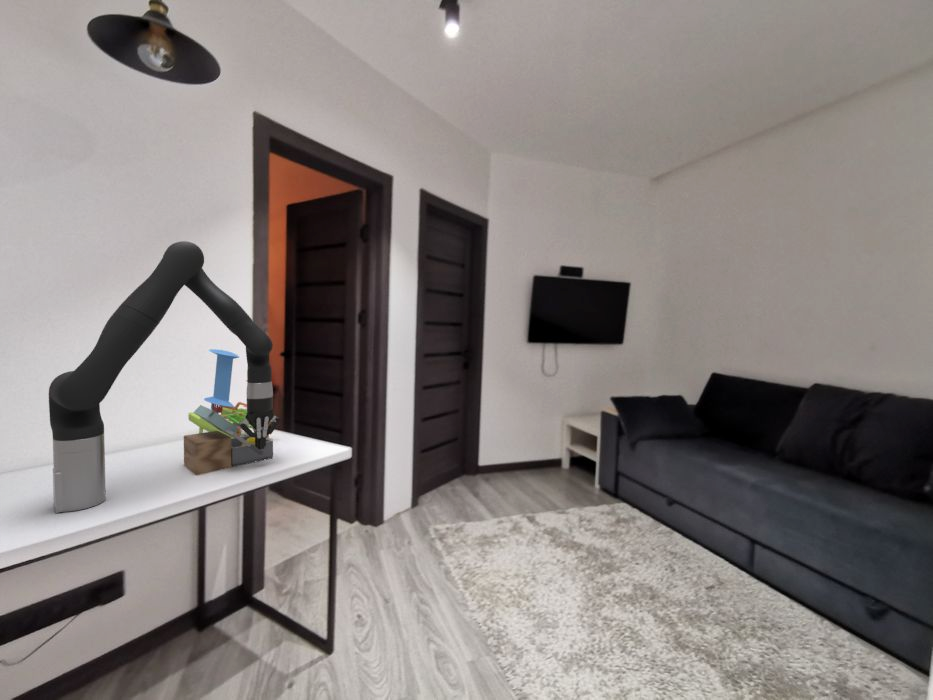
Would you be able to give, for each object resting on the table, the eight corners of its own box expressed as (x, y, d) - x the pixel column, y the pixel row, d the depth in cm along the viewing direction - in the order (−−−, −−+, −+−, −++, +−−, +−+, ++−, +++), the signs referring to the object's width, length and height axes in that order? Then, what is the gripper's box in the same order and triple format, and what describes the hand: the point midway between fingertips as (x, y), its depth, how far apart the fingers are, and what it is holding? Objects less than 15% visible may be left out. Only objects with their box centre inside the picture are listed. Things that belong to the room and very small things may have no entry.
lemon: (269, 445, 142) (249, 461, 139) (260, 433, 143) (239, 449, 140) (264, 442, 137) (243, 458, 134) (255, 430, 138) (233, 446, 135)
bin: (232, 466, 130) (232, 448, 129) (218, 457, 138) (218, 440, 138) (273, 458, 139) (273, 440, 139) (257, 450, 148) (257, 433, 147)
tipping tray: (212, 421, 119) (220, 413, 121) (193, 412, 131) (200, 405, 133) (261, 455, 130) (267, 447, 132) (239, 443, 142) (245, 436, 144)
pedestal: (196, 475, 122) (195, 443, 121) (184, 465, 130) (183, 435, 130) (231, 467, 129) (231, 437, 129) (217, 458, 137) (217, 430, 137)
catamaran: (224, 427, 174) (232, 348, 170) (277, 448, 162) (287, 363, 158) (181, 437, 158) (189, 349, 154) (237, 461, 146) (246, 366, 142)
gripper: (275, 392, 138) (276, 442, 138) (233, 396, 128) (234, 450, 129) (285, 394, 133) (286, 446, 134) (242, 399, 123) (243, 455, 124)
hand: (260, 448), depth 131 cm, fingers closed
